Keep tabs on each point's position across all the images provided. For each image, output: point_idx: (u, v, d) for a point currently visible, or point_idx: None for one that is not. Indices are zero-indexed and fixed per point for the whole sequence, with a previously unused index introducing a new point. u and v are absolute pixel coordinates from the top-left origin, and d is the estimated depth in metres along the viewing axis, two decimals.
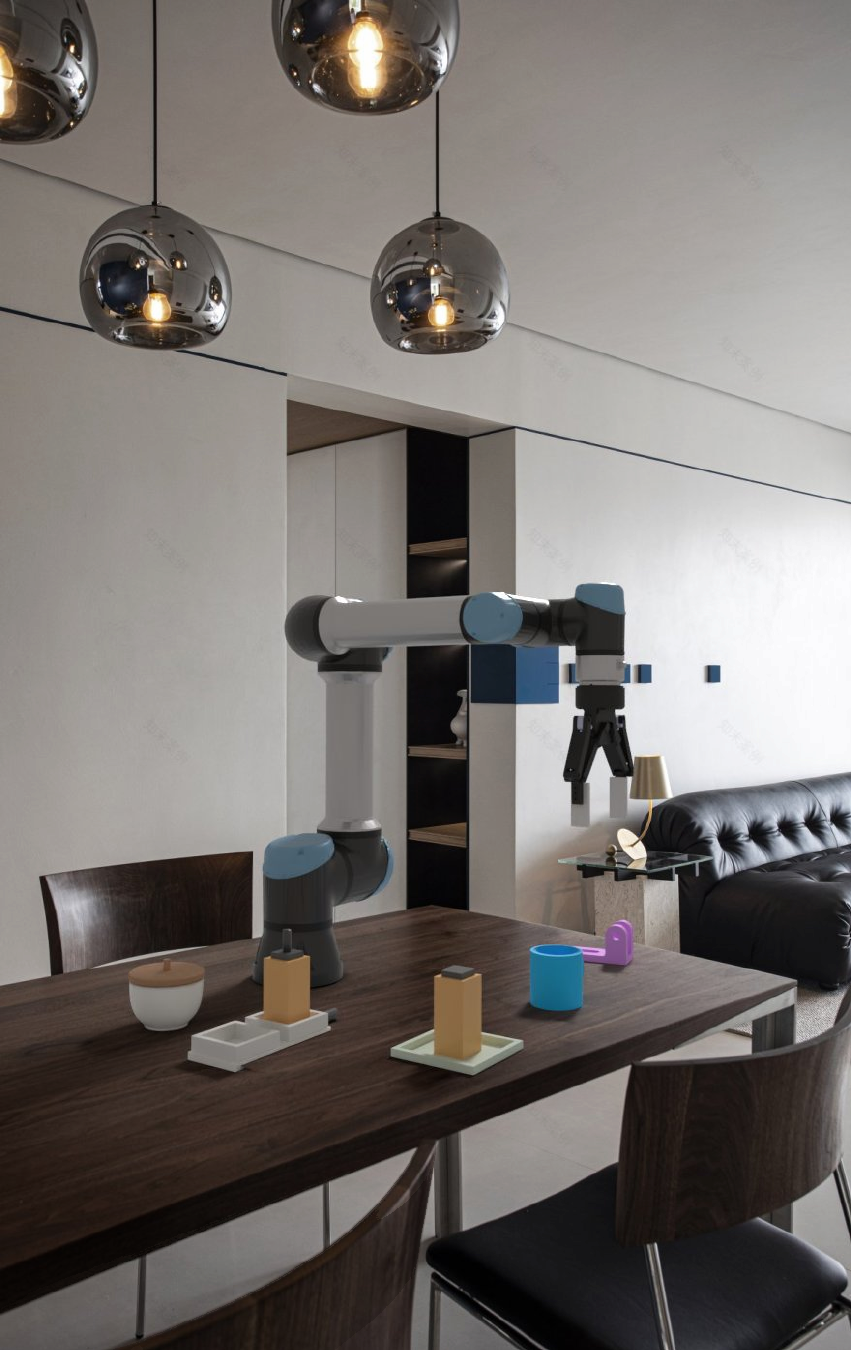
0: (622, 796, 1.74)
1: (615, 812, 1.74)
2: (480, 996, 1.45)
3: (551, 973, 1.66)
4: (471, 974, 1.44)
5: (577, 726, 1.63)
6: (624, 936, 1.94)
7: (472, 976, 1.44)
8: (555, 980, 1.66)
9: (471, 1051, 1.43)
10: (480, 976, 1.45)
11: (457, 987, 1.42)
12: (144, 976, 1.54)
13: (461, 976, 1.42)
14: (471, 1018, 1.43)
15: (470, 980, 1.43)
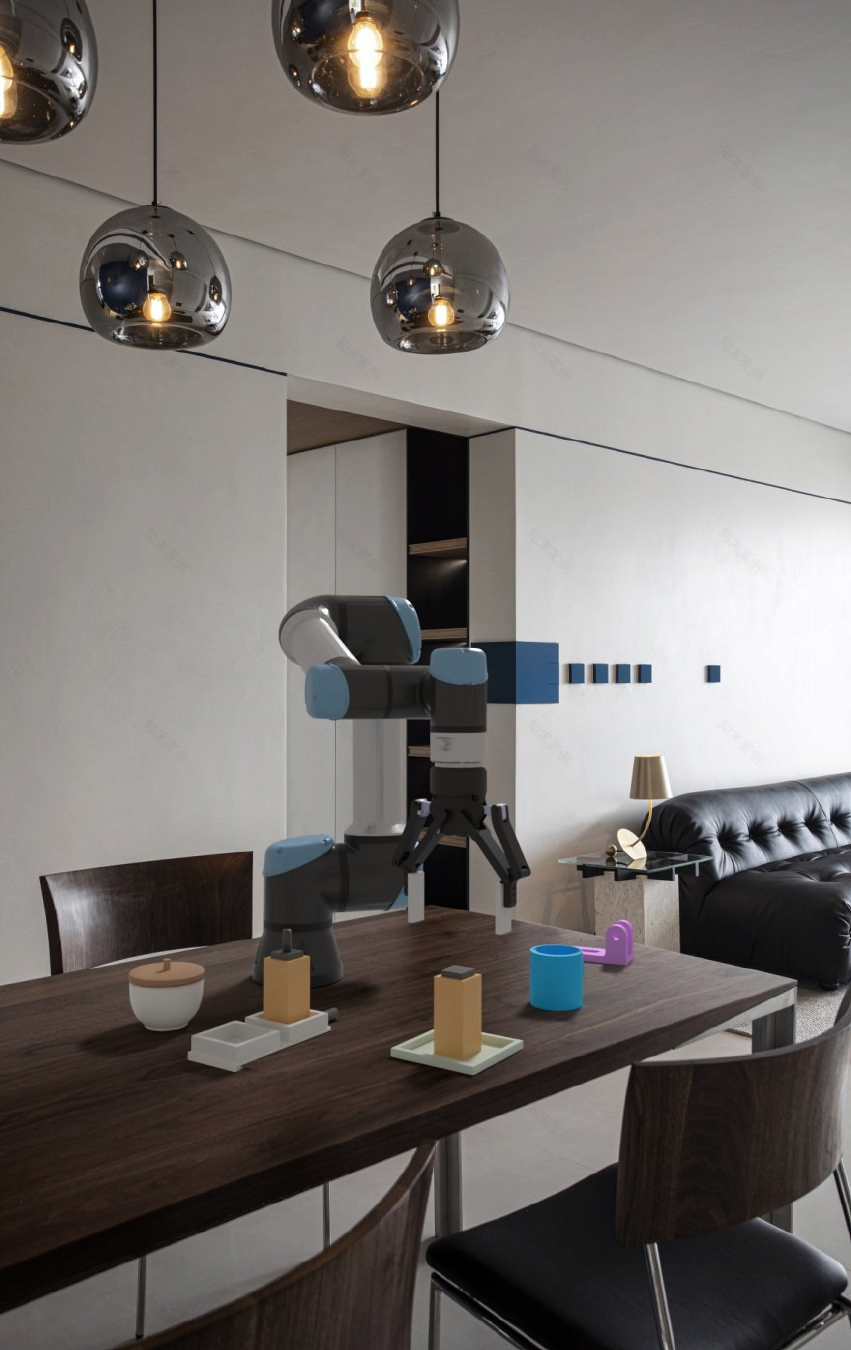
0: None
1: None
2: (480, 996, 1.45)
3: (551, 973, 1.66)
4: (471, 974, 1.44)
5: None
6: (624, 936, 1.94)
7: (472, 976, 1.44)
8: (555, 980, 1.66)
9: (471, 1051, 1.43)
10: (480, 976, 1.45)
11: (457, 987, 1.42)
12: (144, 976, 1.54)
13: (461, 976, 1.42)
14: (471, 1018, 1.43)
15: (470, 980, 1.43)
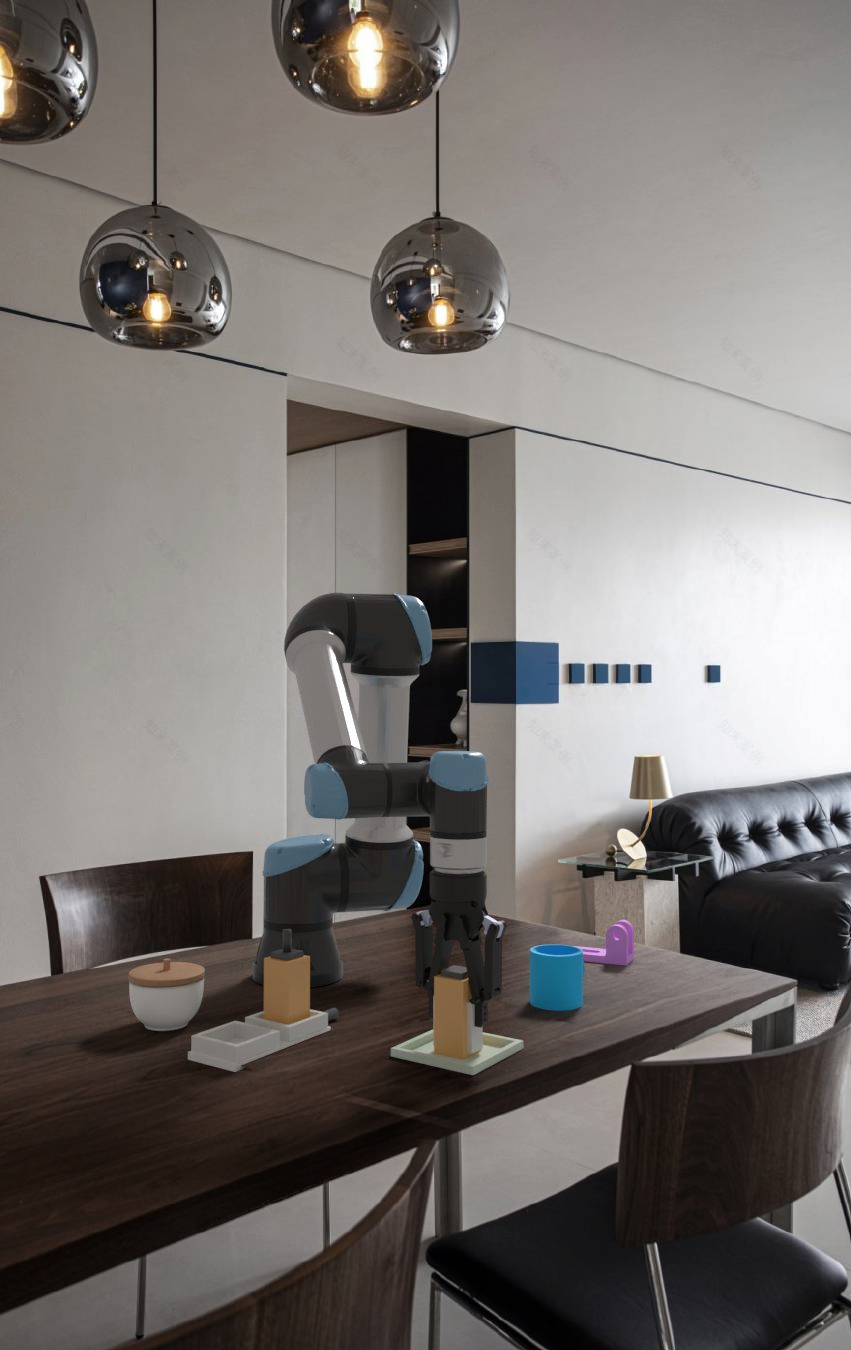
0: None
1: None
2: None
3: (551, 973, 1.66)
4: None
5: None
6: (625, 936, 1.94)
7: None
8: (555, 980, 1.66)
9: None
10: None
11: (457, 987, 1.42)
12: (144, 976, 1.54)
13: (461, 976, 1.42)
14: None
15: None
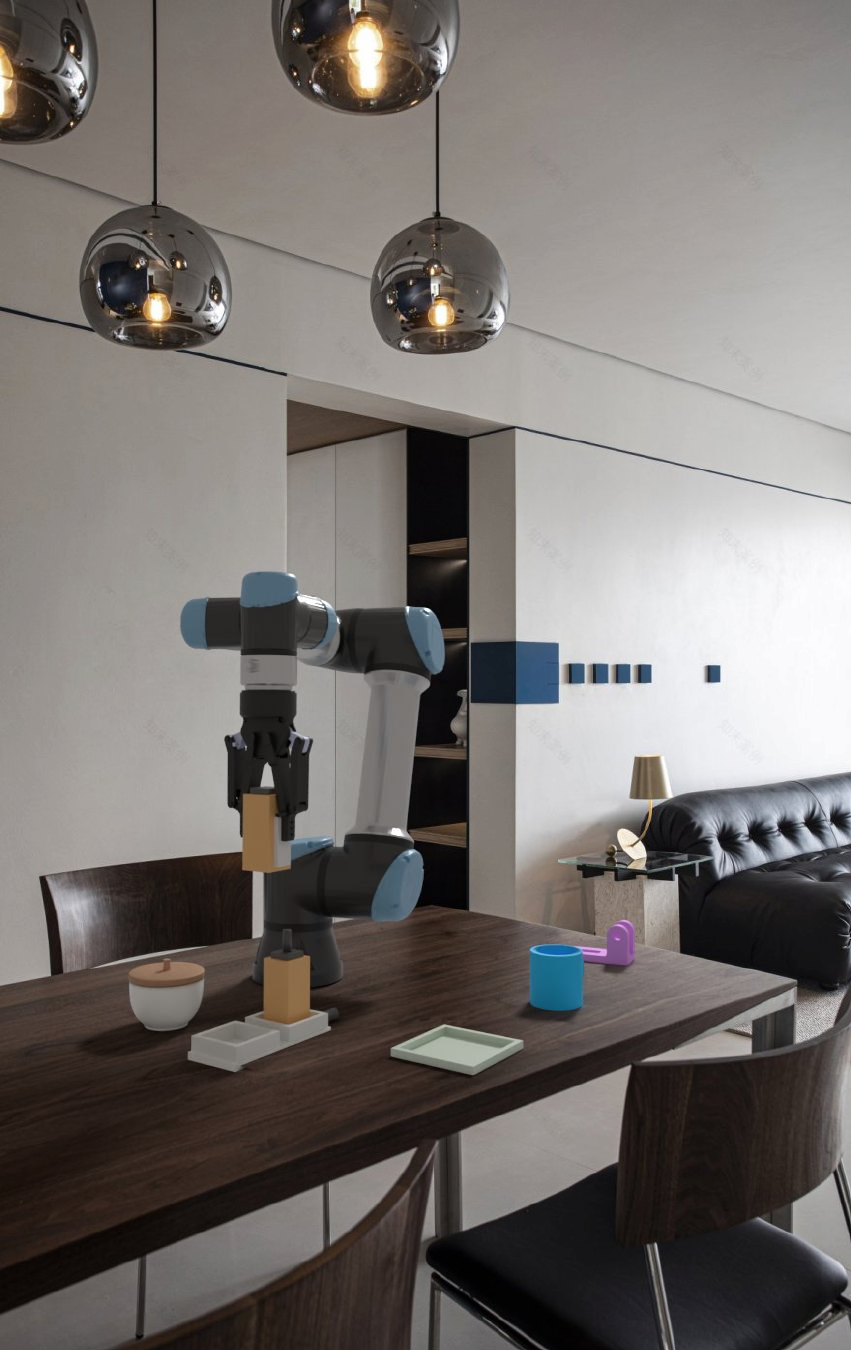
0: None
1: None
2: None
3: (551, 973, 1.66)
4: None
5: None
6: (625, 936, 1.94)
7: None
8: (555, 980, 1.66)
9: None
10: None
11: (263, 801, 1.43)
12: (144, 976, 1.54)
13: (268, 791, 1.44)
14: None
15: None
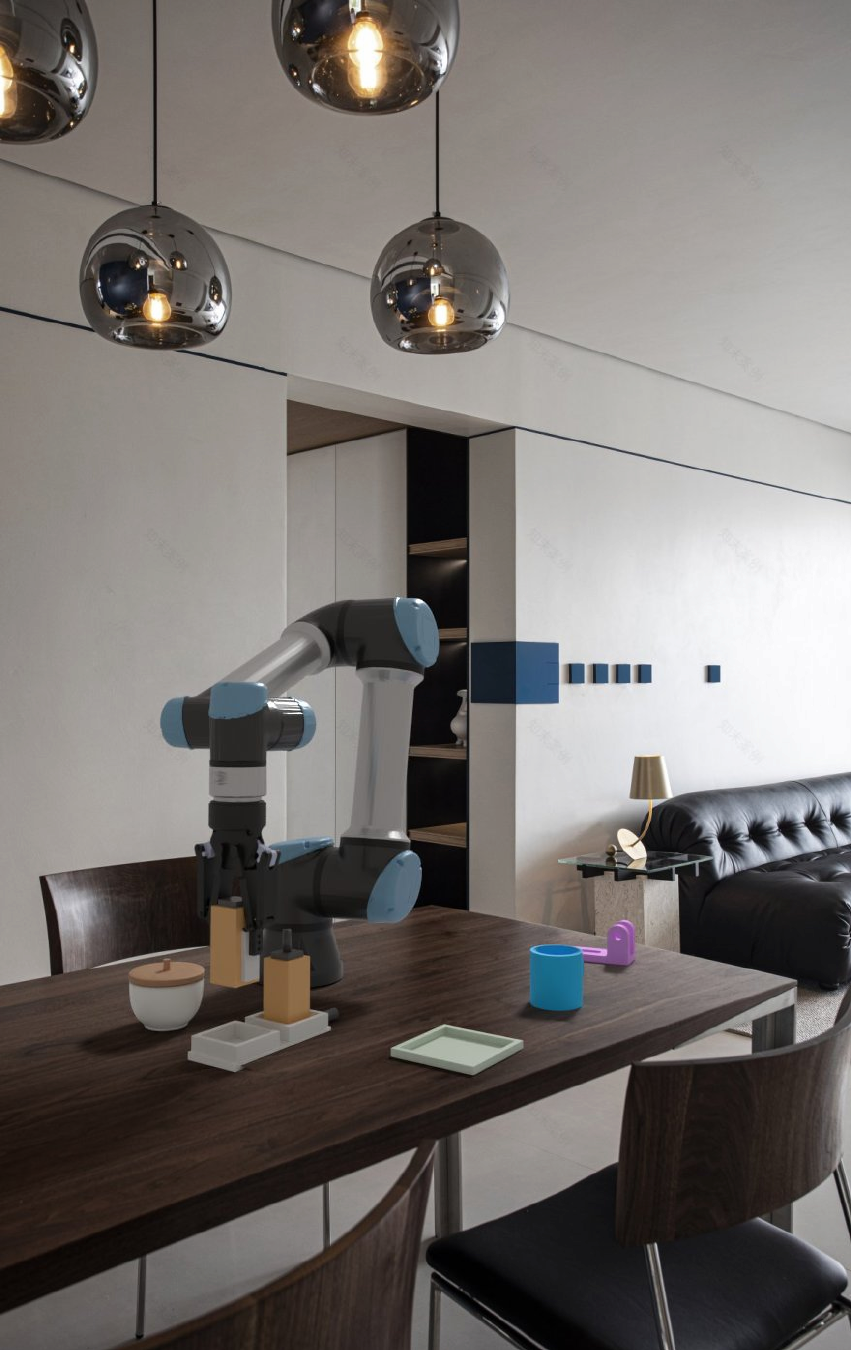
0: None
1: None
2: None
3: (551, 973, 1.66)
4: None
5: None
6: (626, 936, 1.94)
7: None
8: (555, 980, 1.66)
9: None
10: None
11: (230, 915, 1.42)
12: (144, 976, 1.54)
13: (235, 905, 1.42)
14: None
15: None
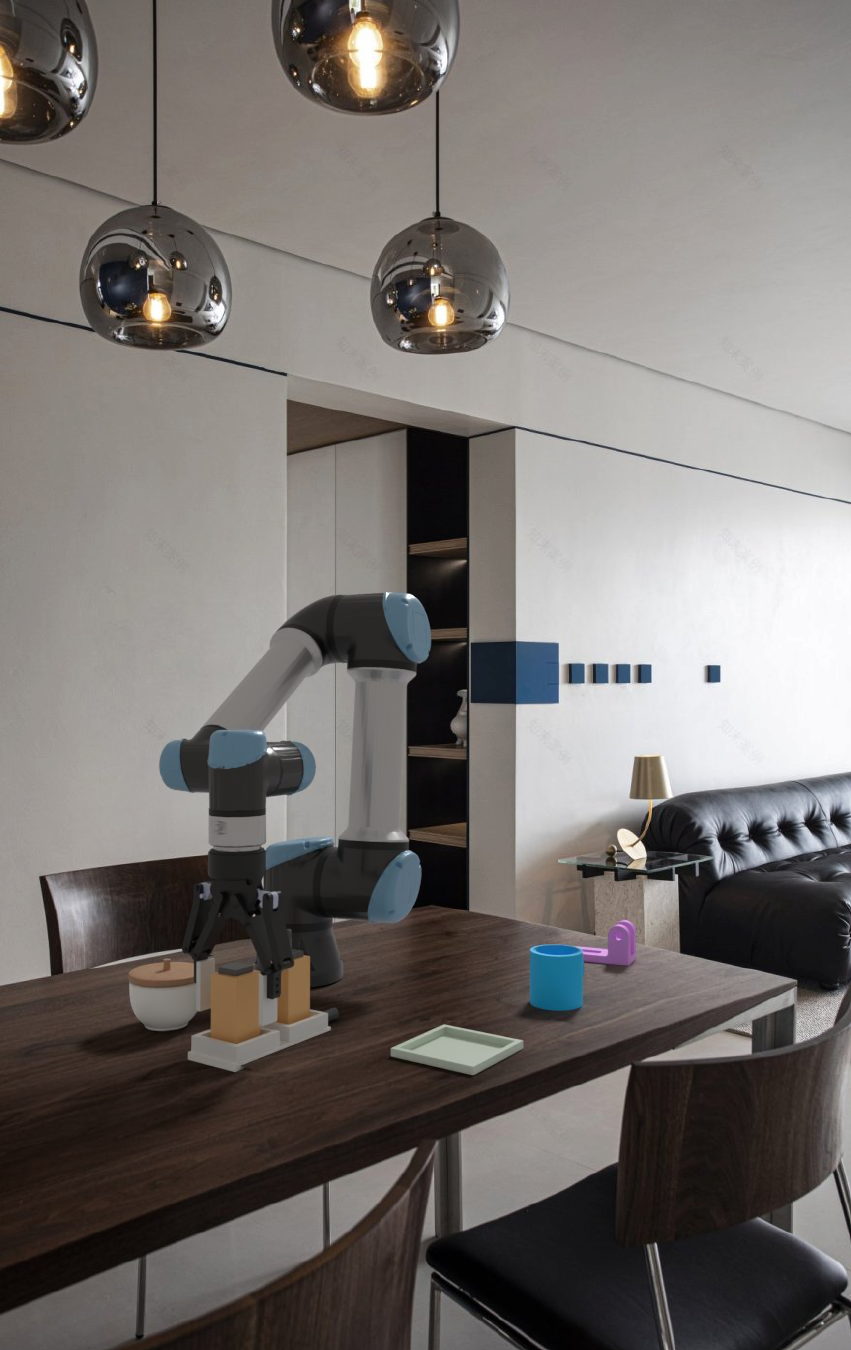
0: None
1: None
2: None
3: (551, 973, 1.66)
4: (248, 971, 1.44)
5: None
6: (626, 936, 1.94)
7: (249, 973, 1.44)
8: (555, 980, 1.66)
9: None
10: (258, 973, 1.45)
11: (230, 983, 1.42)
12: (144, 976, 1.54)
13: (236, 973, 1.42)
14: (246, 1014, 1.43)
15: (244, 977, 1.43)
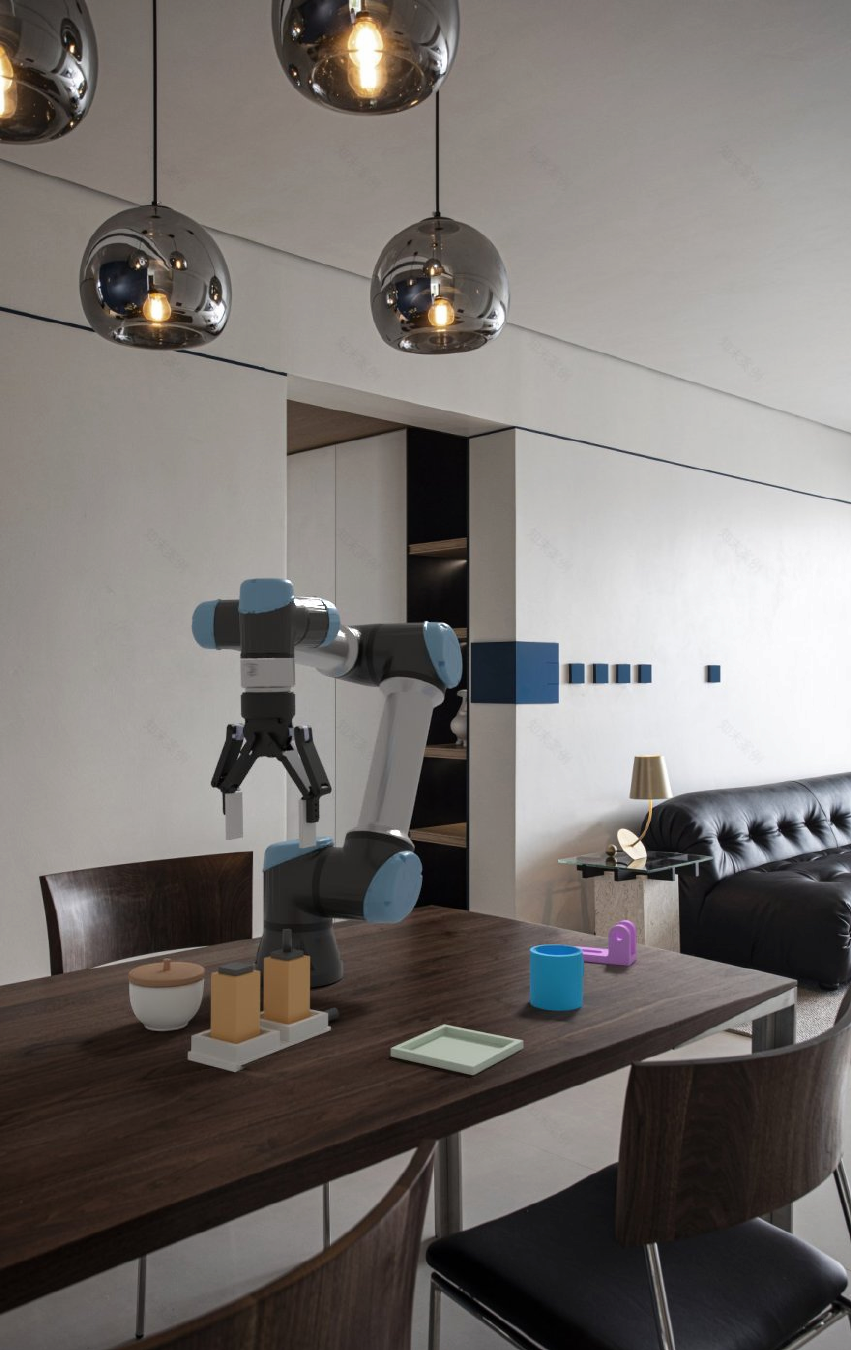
0: None
1: None
2: (259, 993, 1.45)
3: (551, 973, 1.66)
4: (248, 971, 1.44)
5: None
6: (627, 936, 1.94)
7: (249, 973, 1.44)
8: (555, 980, 1.66)
9: None
10: (258, 973, 1.45)
11: (230, 983, 1.42)
12: (144, 976, 1.54)
13: (236, 973, 1.42)
14: (246, 1014, 1.43)
15: (244, 977, 1.43)
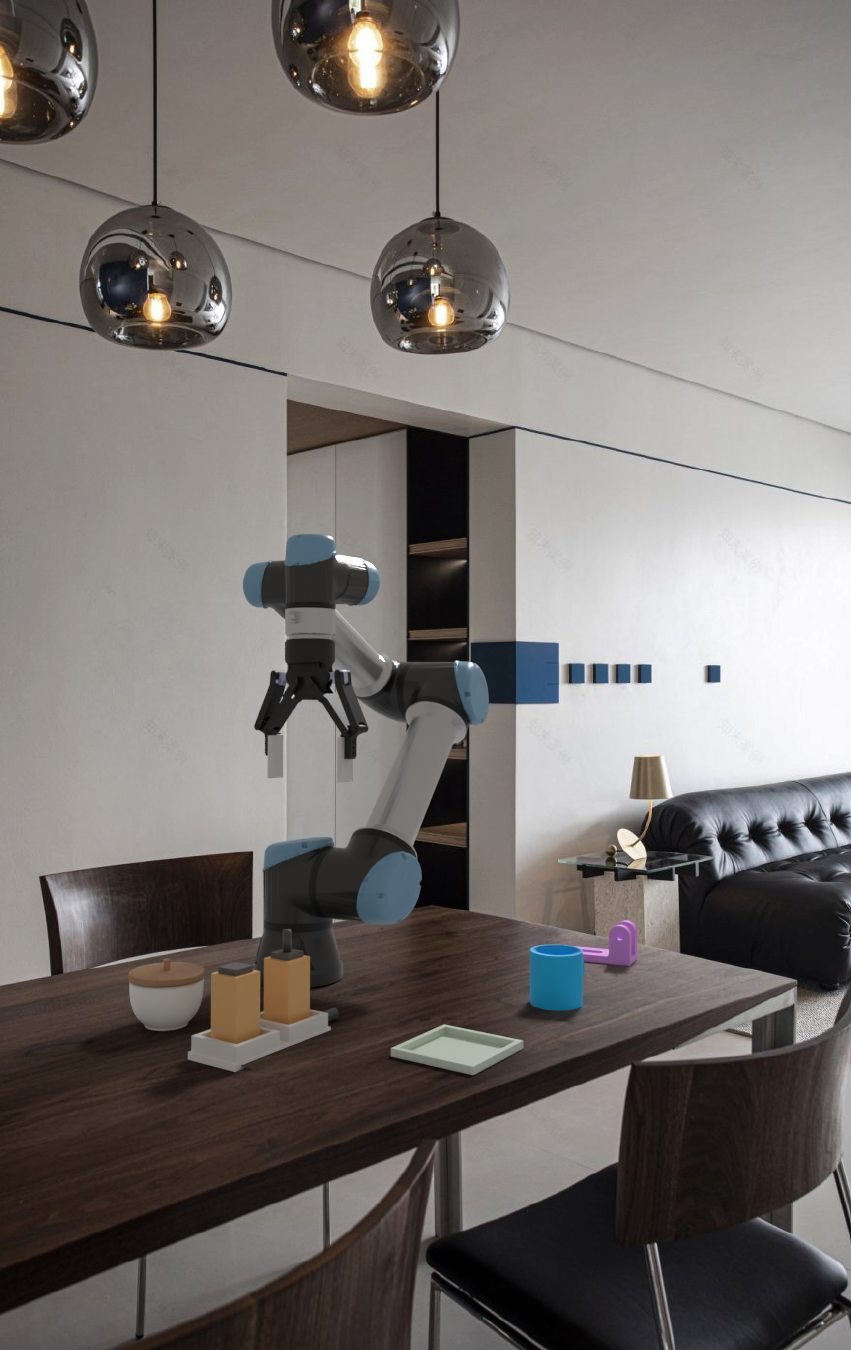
0: None
1: None
2: (259, 993, 1.45)
3: (551, 973, 1.66)
4: (248, 971, 1.44)
5: None
6: (628, 936, 1.94)
7: (249, 973, 1.44)
8: (555, 980, 1.66)
9: None
10: (258, 973, 1.45)
11: (230, 983, 1.42)
12: (144, 976, 1.54)
13: (236, 973, 1.42)
14: (246, 1014, 1.43)
15: (244, 977, 1.43)
